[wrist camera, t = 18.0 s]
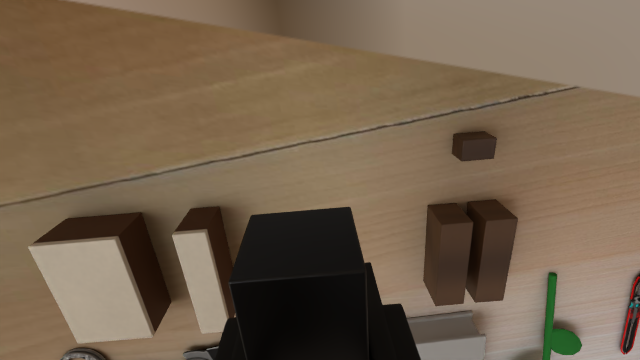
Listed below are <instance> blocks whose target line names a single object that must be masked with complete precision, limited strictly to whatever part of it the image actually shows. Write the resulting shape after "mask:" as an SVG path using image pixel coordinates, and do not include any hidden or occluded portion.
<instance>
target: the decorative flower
mask: <svg viewBox="0 0 640 360" xmlns="http://www.w3.org/2000/svg"><path fill="white" fill-rule="evenodd" d="M556 282H557V274H556V273H549V278H548V291H547V305H546V318H545V332H544V345H543V359H542V360H550V355H551V349H552V350H553V351H554V352H556V353H559V354H562V355H574V354H575V353H577V352H579V351H580V349H581V347H582V344H581V341H580V339H579V338H578V337H577V336H576V335H575V334H574V333H573V332H571V331H568V330H565V329H553V318H554V306H555V294H556Z"/></svg>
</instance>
